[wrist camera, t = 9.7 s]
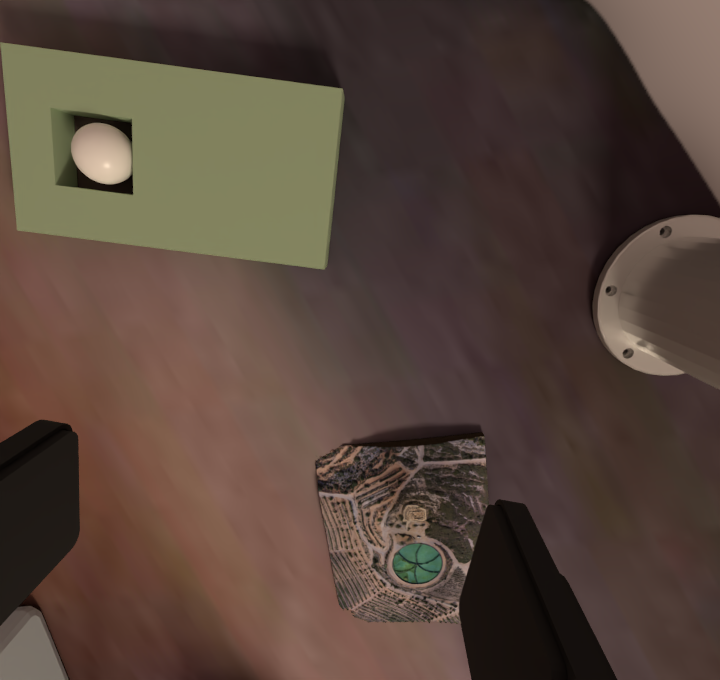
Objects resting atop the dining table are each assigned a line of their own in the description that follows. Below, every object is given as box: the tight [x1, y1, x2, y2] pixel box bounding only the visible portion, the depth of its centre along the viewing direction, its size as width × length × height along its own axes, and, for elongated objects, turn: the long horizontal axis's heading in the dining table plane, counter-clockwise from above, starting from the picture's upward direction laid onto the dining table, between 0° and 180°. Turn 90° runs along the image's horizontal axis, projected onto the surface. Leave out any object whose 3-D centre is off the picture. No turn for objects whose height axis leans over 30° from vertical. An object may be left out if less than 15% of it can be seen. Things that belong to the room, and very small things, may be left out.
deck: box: [0, 42, 344, 269], centre depth 32 cm, size 22×12×2 cm, turn 83°
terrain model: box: [316, 432, 489, 624], centre depth 41 cm, size 20×15×3 cm
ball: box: [71, 123, 133, 184], centre depth 31 cm, size 4×4×4 cm
